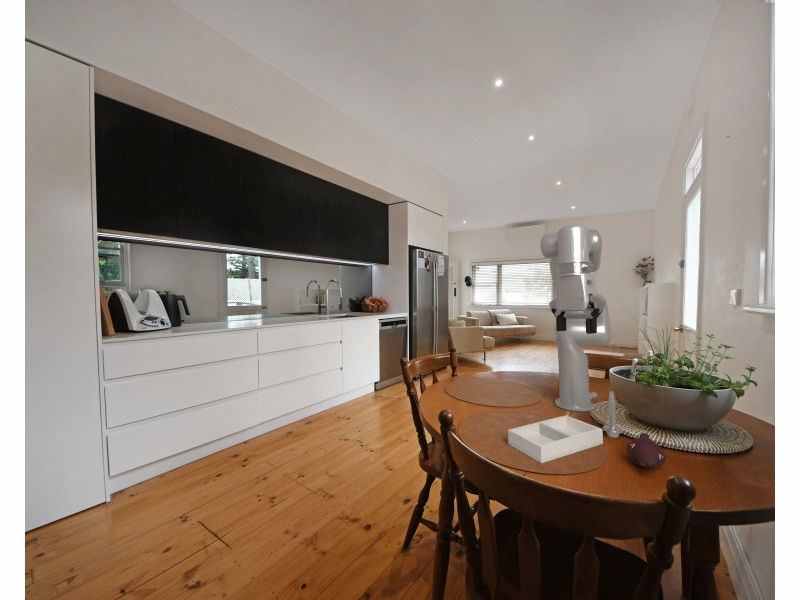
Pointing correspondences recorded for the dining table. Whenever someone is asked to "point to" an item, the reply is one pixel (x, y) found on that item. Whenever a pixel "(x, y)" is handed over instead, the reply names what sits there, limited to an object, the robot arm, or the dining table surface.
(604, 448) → the dining table surface
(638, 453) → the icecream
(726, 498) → the dining table surface
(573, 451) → the white divided tray
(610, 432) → the screw
